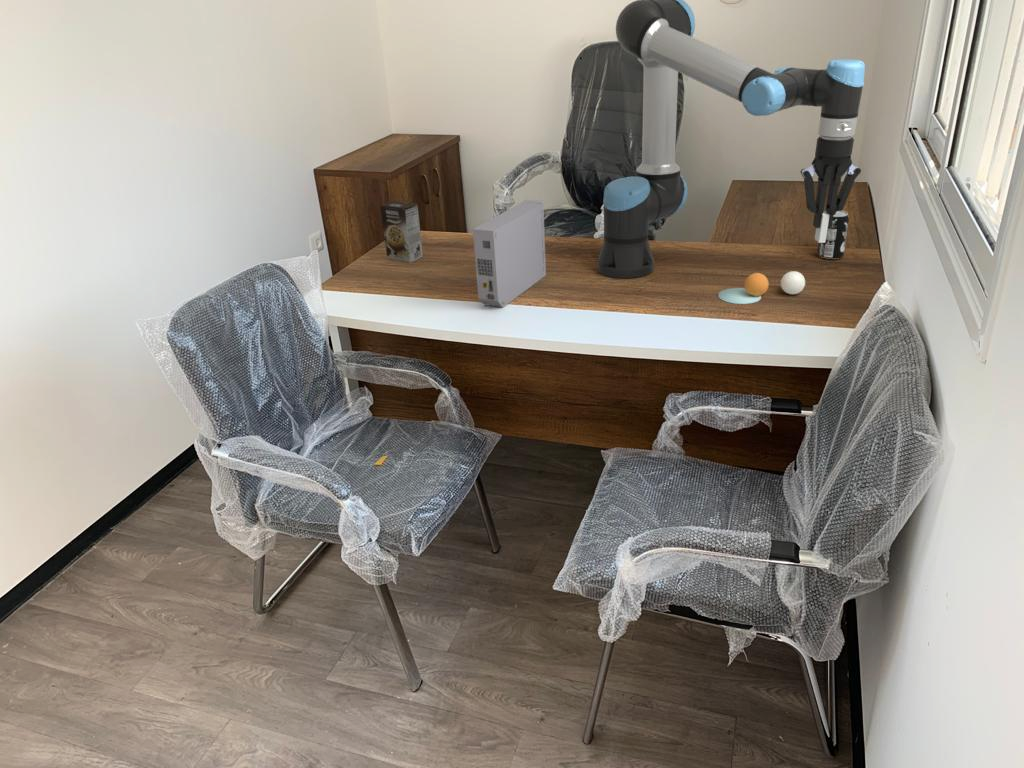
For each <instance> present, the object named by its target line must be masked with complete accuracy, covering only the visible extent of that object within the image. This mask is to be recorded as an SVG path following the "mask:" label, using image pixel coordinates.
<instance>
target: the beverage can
mask: <svg viewBox="0 0 1024 768" xmlns="http://www.w3.org/2000/svg"><path fill="white" fill-rule="evenodd" d="M824 212H826V210H824ZM848 215H849V212H847V211H845V210H842V211H837V212H836V214H835V215H833V220H832V226H831V227H828V228H827V235H826V241H825V243H819V242H818V244H817V253H818V254H819V255H821V256H822V257H826V258H840V257H841V258H842V257H844V254H845V248H846V241H847V234H848V230H849V222H850V219H849V218H850V217H849V216H848ZM817 253H816V254H817ZM818 254H817V255H818ZM819 255H818V256H819ZM841 258H840V259H841Z"/></svg>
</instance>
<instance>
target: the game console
mask: <svg viewBox="0 0 1024 768" xmlns="http://www.w3.org/2000/svg"><path fill="white" fill-rule="evenodd" d="M544 215H545V214H544V202H543V201H542V200H532V199H525V200H523V201H522V202H520V203H518V204H516V205H514V206H512V207H510V208H509V209H507V210H506V211H503V212H501V213H500V214H498V215H496V216H495V217H493V218H491V219H489V220H487V221H485V222H484V223H482V224H480V225H478V226H476V227H474V228H472V239H473V247H474V248H473V249H474V260H475V273H476V275H475V276H476V287H477V298H478V300H479V302H481V304H482V305H484V306H490V307H497V308H505V306H507V305H508V304H510V303H511V302H512V301H514V300H515V299H516V298H517V297H519V296H520V295H522V294H523V293H525V292H526V291H527V290H528V289H531V287H532V286H534V285H535V284H536V283H538V282H539V281H540V280H541V279H543V278H545V276H547V265H546V244H545V243H546V241H545V238H546V237H545V216H544Z"/></svg>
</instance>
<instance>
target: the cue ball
mask: <svg viewBox="0 0 1024 768" xmlns="http://www.w3.org/2000/svg"><path fill="white" fill-rule="evenodd" d="M780 286H781V287H780V288H781V289H782V291H783V292H785V294H789V295H797V294H799V293H801V292H802V291H803V290H804V289H805V286H806V279H805V277H804V275H803V274H802V273H801V272H799V271H796V270H794V271H792V270H791V271H787V272H786V273H785V274H784V275H783V276H782V277H781V280H780Z"/></svg>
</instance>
